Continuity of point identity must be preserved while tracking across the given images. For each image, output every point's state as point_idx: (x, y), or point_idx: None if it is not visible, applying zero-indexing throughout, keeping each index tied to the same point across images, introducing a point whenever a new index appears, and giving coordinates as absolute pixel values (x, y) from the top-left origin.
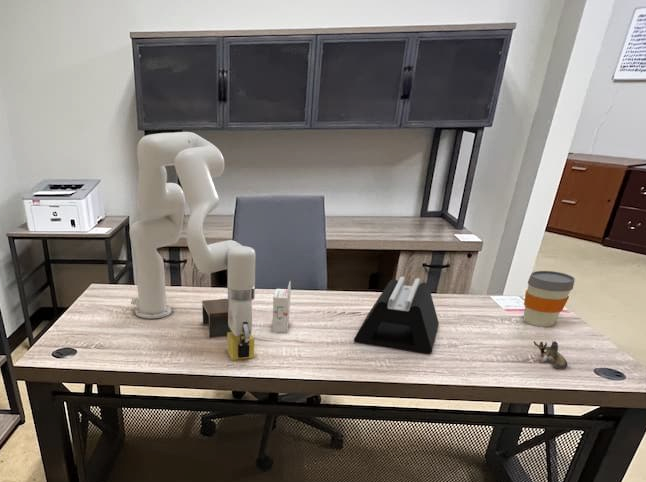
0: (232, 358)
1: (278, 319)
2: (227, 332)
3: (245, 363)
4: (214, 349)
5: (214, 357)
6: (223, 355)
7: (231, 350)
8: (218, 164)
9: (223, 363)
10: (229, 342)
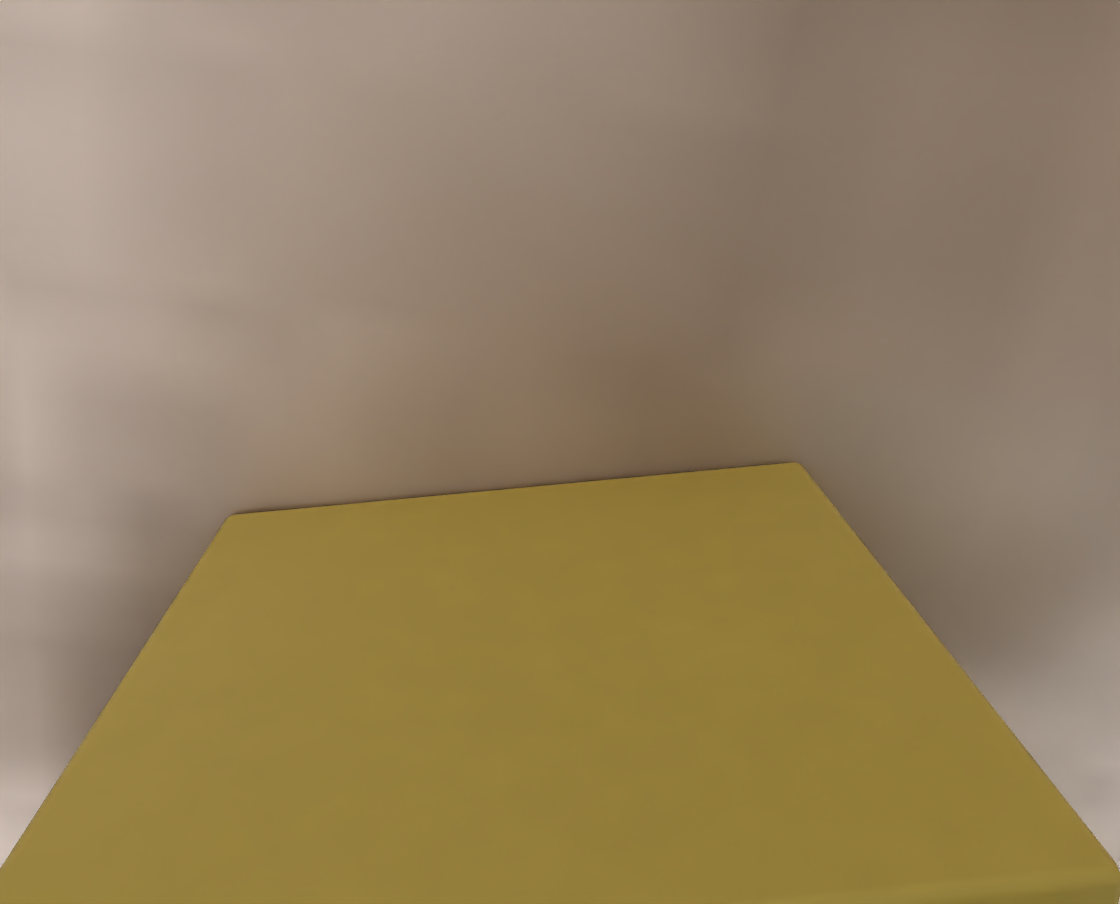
0: (219, 534)
1: None
2: (1101, 876)
3: (42, 761)
4: (989, 117)
5: (440, 36)
6: (538, 325)
7: (270, 624)
8: None
9: (18, 256)
10: (570, 695)
